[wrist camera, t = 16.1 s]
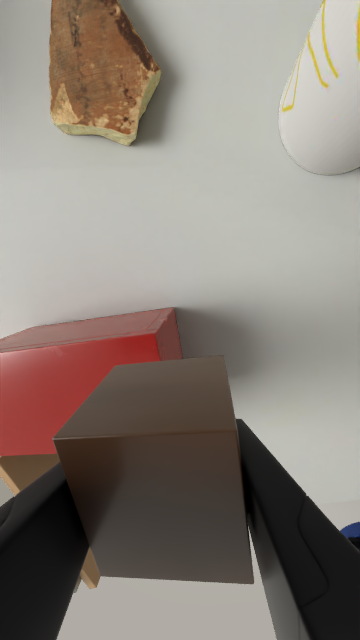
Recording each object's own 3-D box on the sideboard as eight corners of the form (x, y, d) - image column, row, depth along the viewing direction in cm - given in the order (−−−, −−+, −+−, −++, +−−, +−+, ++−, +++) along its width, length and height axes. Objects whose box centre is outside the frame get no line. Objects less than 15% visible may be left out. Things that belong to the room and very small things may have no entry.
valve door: (84, 513, 28) (36, 611, 20) (16, 421, 25) (-70, 492, 17) (125, 501, 26) (92, 601, 19) (58, 402, 24) (-14, 470, 16)
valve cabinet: (187, 386, 22) (178, 449, 14) (54, 397, 24) (-12, 457, 17) (173, 307, 20) (155, 333, 12) (31, 327, 22) (-56, 359, 15)
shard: (69, -61, 14) (50, -105, 13) (183, -45, 14) (179, -88, 12) (59, 133, 17) (43, 119, 16) (153, 151, 17) (147, 139, 15)
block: (235, 458, 10) (254, 585, 6) (138, 460, 10) (99, 577, 7) (223, 354, 9) (237, 429, 5) (115, 364, 9) (50, 438, 5)
